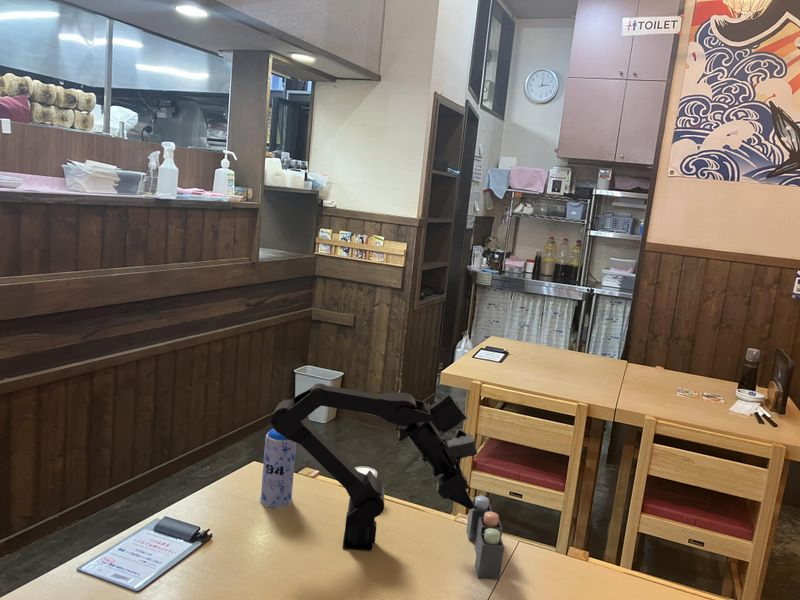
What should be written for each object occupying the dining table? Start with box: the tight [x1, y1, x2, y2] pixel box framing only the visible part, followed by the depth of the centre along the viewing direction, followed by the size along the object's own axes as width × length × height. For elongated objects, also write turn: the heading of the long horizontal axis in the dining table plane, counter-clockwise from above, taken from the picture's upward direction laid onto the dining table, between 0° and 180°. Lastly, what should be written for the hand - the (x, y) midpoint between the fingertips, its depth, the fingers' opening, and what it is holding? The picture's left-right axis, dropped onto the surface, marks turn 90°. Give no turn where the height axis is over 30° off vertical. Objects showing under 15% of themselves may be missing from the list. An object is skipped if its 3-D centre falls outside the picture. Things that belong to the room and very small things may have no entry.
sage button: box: [484, 528, 500, 545], centre depth 135 cm, size 3×3×2 cm
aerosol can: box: [259, 428, 297, 509], centre depth 156 cm, size 8×8×20 cm
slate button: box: [474, 495, 490, 511], centre depth 150 cm, size 3×3×2 cm
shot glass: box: [354, 465, 378, 479], centre depth 164 cm, size 7×7×7 cm
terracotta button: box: [483, 511, 500, 527], centre depth 142 cm, size 3×3×2 cm
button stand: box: [465, 500, 505, 581], centre depth 143 cm, size 6×20×8 cm, turn 1°
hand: (469, 498), depth 141 cm, fingers open, 9 cm apart
